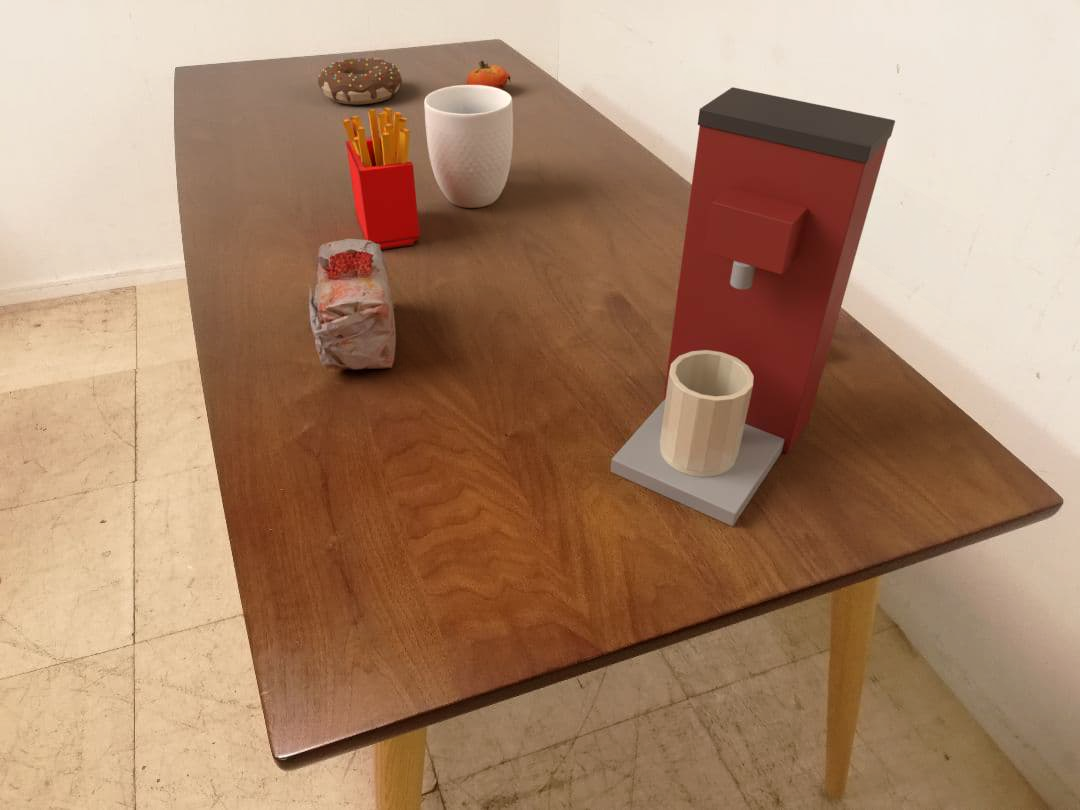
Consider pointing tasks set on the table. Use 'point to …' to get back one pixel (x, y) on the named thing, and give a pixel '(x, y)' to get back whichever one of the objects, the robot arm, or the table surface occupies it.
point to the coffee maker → (763, 274)
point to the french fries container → (383, 179)
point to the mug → (470, 142)
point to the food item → (353, 307)
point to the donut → (360, 81)
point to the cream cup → (705, 412)
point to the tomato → (488, 76)
